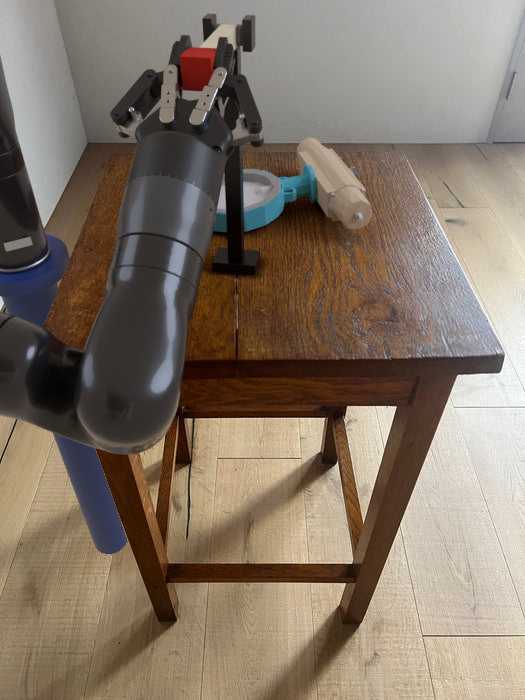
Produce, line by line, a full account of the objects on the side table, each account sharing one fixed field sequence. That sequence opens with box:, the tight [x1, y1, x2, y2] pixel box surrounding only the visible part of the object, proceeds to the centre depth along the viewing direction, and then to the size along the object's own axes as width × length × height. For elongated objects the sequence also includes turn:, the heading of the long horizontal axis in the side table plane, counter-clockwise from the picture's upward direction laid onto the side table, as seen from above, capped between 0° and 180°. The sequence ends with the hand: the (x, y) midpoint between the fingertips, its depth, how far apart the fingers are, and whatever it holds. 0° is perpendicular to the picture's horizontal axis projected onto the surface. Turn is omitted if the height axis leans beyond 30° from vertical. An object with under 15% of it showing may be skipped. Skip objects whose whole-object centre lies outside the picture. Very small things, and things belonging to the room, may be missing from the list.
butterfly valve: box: [213, 137, 374, 233], centre depth 90 cm, size 27×7×30 cm
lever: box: [180, 23, 243, 92], centre depth 55 cm, size 3×16×3 cm, turn 171°
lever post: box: [201, 13, 261, 276], centre depth 69 cm, size 6×4×31 cm, turn 81°
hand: (205, 44), depth 51 cm, fingers closed on lever, 3 cm apart
